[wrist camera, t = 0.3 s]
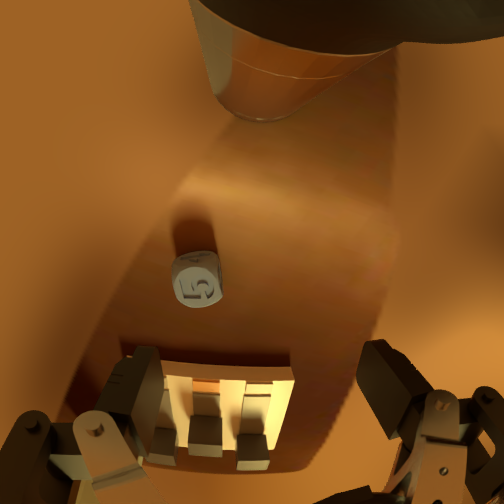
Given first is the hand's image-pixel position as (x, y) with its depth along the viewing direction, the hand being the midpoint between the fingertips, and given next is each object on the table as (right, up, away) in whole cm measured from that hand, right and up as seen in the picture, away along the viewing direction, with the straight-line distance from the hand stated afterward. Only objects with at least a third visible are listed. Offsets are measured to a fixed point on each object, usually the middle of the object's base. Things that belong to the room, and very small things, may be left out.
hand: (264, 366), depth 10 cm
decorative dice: (-6, +3, +18) cm, 19 cm away
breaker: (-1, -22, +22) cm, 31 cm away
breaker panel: (-6, -17, +23) cm, 29 cm away
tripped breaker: (-6, -18, +21) cm, 28 cm away
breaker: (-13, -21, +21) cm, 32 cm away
